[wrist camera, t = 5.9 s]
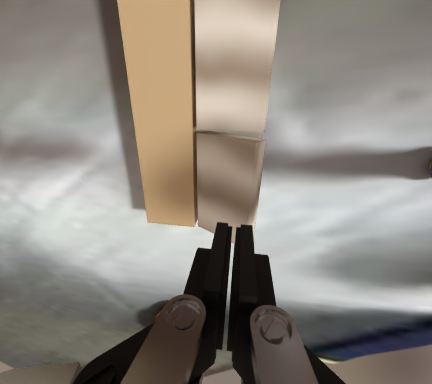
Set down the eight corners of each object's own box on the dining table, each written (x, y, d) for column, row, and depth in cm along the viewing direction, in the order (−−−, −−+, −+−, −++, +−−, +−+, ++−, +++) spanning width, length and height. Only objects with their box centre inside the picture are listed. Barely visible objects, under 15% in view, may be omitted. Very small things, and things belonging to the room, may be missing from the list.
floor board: (132, -9, 21) (112, -27, 18) (277, -12, 20) (283, -32, 16) (156, 210, 32) (147, 223, 29) (251, 218, 31) (252, 233, 27)
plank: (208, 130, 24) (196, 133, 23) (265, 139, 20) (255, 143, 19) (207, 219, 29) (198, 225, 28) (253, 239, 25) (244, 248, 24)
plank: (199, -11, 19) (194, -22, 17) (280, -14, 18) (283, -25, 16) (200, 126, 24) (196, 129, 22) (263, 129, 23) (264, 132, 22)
